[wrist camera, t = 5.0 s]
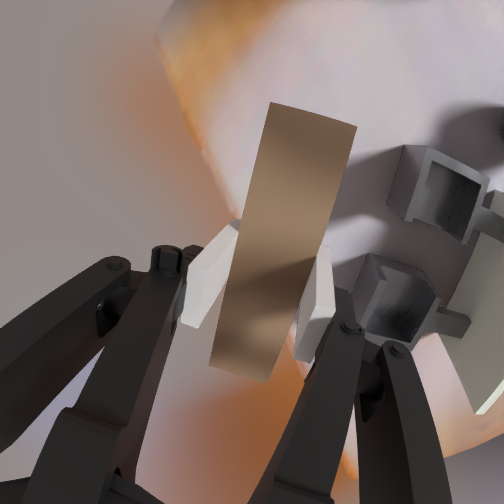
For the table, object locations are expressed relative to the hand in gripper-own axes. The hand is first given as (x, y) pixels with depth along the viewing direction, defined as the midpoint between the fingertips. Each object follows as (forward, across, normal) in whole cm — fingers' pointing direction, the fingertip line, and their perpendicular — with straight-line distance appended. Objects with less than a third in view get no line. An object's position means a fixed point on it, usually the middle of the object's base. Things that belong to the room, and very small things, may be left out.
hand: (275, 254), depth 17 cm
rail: (+3, 0, 0) cm, 3 cm away
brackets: (+17, +17, -1) cm, 24 cm away
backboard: (+17, +24, -1) cm, 30 cm away
